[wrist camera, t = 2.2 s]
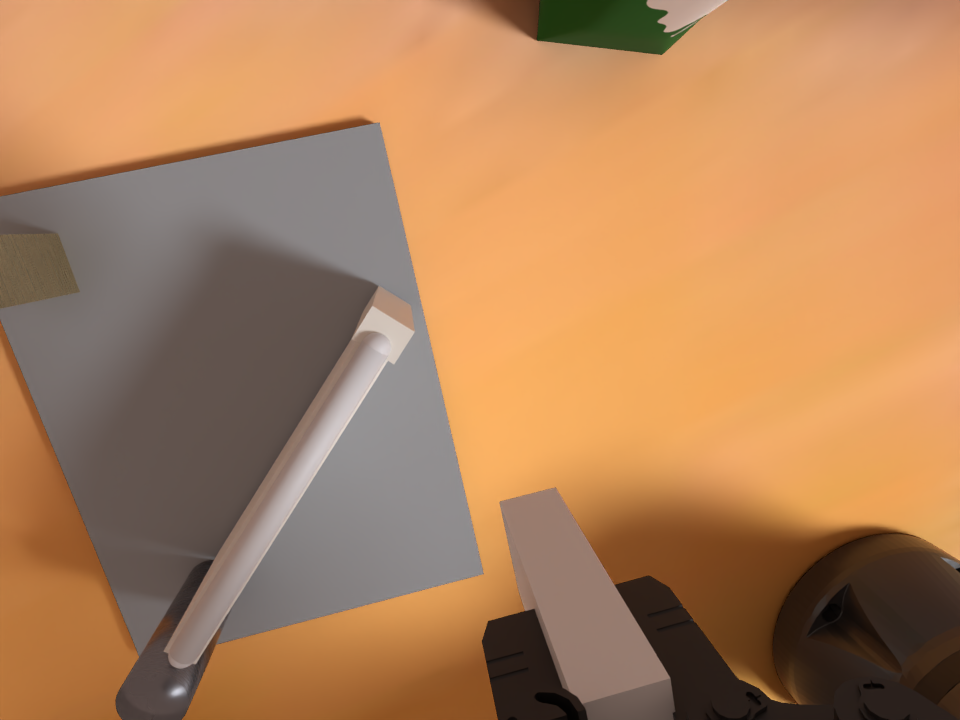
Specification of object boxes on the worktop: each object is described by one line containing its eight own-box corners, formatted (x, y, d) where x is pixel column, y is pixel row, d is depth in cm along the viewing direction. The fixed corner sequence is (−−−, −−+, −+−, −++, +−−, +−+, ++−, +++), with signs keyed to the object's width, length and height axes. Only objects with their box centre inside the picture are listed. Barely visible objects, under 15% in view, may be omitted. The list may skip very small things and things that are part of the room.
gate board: (481, 565, 38) (483, 574, 37) (149, 652, 36) (142, 663, 35) (380, 125, 31) (379, 122, 30) (-33, 206, 29) (-48, 205, 28)
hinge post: (251, 588, 36) (197, 720, 26) (202, 600, 36) (129, 739, 26) (236, 545, 35) (175, 665, 26) (186, 557, 35) (105, 684, 25)
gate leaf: (245, 567, 34) (191, 685, 25) (213, 552, 34) (147, 667, 25) (410, 305, 32) (415, 335, 23) (379, 285, 32) (371, 308, 23)
